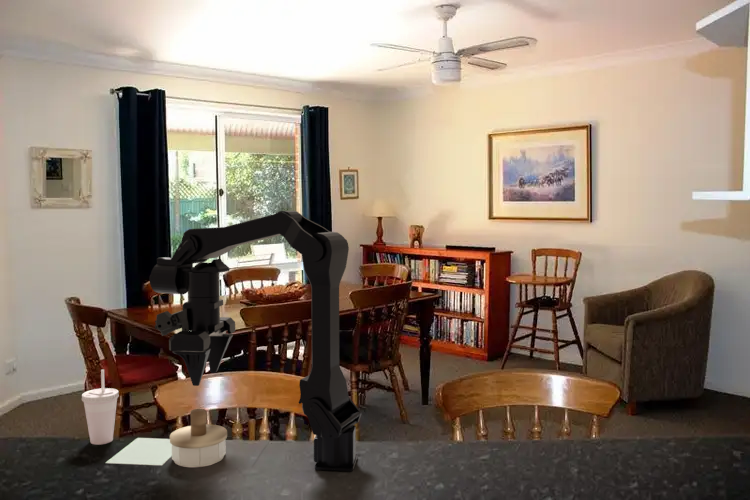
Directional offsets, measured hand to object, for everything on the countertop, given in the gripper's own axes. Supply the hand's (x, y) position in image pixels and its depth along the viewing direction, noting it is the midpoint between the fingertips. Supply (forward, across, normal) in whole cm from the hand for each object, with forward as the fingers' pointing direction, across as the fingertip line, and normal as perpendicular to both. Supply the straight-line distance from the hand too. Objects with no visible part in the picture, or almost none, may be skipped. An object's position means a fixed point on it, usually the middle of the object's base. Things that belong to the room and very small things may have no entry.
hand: (205, 378), depth 122 cm
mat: (+12, +7, -8) cm, 16 cm away
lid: (+8, +9, +2) cm, 12 cm away
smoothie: (+12, +3, -19) cm, 23 cm away
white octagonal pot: (+12, +9, +2) cm, 15 cm away
